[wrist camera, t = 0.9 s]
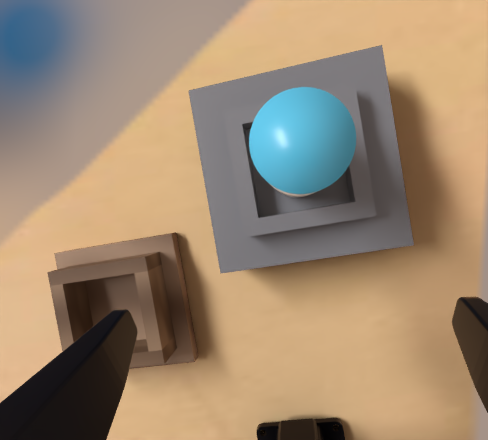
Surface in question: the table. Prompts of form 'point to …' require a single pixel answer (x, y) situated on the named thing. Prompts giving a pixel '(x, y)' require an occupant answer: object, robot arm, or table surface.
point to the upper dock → (314, 205)
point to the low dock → (127, 296)
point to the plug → (302, 141)
